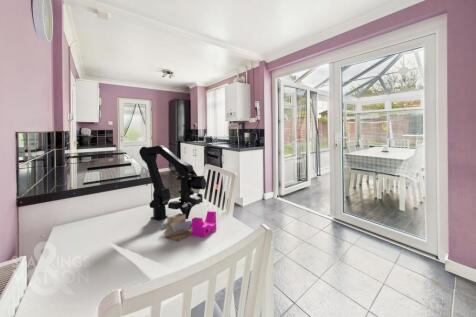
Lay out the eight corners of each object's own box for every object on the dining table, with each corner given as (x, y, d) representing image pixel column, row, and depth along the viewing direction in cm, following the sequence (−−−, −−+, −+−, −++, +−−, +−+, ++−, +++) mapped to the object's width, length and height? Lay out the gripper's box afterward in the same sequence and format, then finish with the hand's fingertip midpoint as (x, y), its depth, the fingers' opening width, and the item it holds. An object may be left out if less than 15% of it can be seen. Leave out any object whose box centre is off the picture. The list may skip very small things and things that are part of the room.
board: (165, 237, 91) (165, 235, 91) (182, 230, 99) (182, 228, 99) (177, 241, 86) (177, 239, 86) (195, 233, 94) (195, 232, 94)
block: (167, 229, 101) (167, 216, 101) (178, 224, 107) (178, 213, 107) (174, 230, 98) (174, 218, 98) (185, 226, 104) (185, 214, 104)
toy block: (204, 237, 90) (204, 220, 90) (192, 236, 92) (191, 218, 92) (220, 226, 104) (220, 211, 104) (209, 225, 106) (209, 210, 106)
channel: (161, 228, 101) (161, 223, 101) (177, 223, 110) (177, 218, 110) (175, 232, 96) (175, 227, 96) (191, 226, 104) (191, 221, 104)
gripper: (183, 192, 96) (183, 227, 96) (210, 187, 111) (210, 216, 112) (167, 190, 102) (167, 223, 102) (194, 185, 117) (195, 213, 118)
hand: (186, 219), depth 108 cm, fingers closed
